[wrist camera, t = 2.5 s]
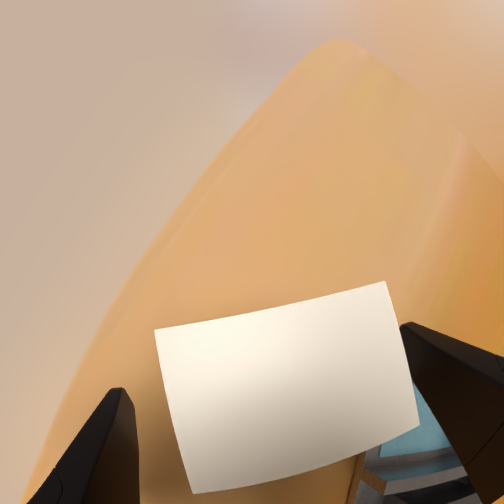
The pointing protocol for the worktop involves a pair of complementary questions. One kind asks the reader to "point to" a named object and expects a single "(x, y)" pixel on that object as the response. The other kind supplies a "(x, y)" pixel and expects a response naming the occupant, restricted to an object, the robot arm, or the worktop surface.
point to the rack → (413, 468)
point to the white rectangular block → (286, 387)
